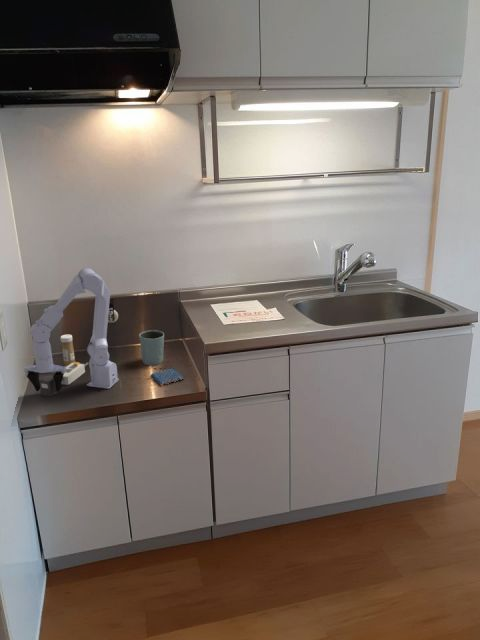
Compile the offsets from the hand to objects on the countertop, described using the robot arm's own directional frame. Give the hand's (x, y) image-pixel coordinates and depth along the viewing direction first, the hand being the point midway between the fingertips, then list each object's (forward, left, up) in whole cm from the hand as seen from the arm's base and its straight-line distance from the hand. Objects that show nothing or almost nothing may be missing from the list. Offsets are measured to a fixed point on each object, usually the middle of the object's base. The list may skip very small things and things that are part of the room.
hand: (48, 390), depth 188 cm
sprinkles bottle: (+6, -23, -2) cm, 24 cm away
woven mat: (-37, -23, -2) cm, 44 cm away
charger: (0, -1, -2) cm, 2 cm away
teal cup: (-25, -37, -2) cm, 44 cm away
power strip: (0, -18, -2) cm, 18 cm away
